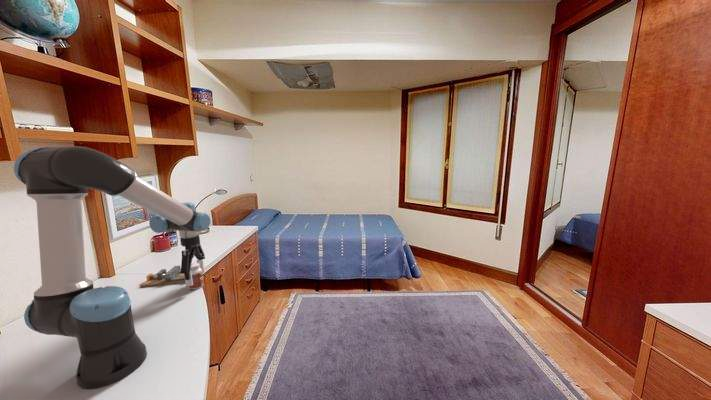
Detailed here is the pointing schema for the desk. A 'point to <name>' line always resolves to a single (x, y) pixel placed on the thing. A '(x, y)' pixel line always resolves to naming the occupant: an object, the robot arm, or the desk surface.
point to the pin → (153, 276)
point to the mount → (166, 278)
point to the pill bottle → (196, 276)
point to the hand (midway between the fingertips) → (195, 278)
